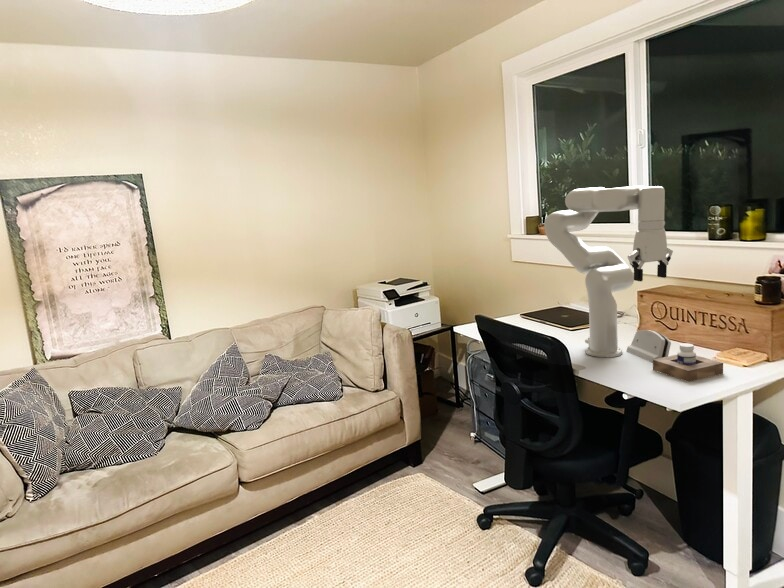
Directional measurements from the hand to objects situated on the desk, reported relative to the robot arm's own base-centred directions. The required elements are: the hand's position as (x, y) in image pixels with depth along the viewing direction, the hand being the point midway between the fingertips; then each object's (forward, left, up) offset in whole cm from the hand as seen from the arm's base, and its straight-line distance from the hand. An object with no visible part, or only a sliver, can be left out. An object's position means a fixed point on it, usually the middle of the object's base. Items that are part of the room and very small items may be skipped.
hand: (650, 278), depth 182 cm
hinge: (-10, +9, -30) cm, 33 cm away
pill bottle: (+10, +5, -30) cm, 32 cm away
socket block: (+10, +5, -30) cm, 32 cm away
